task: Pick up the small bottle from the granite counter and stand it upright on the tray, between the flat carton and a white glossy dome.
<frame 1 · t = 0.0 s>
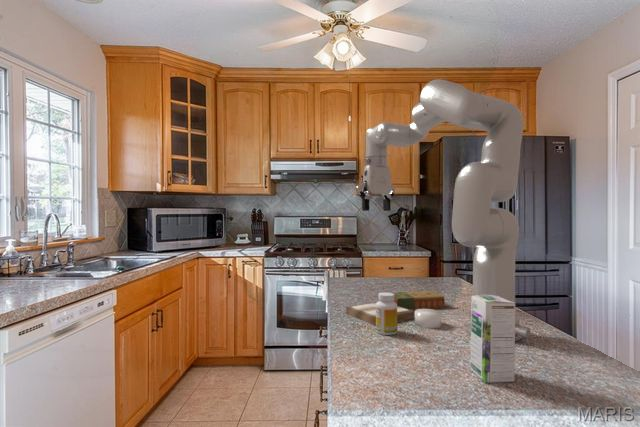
hand: (376, 210, 129), 31 cm above the countertop, tool pointing down, fingers open, 9 cm apart
carton: (415, 307, 118), on the countertop
supplement bottle: (386, 332, 92), on the countertop
white glossy dome: (427, 324, 98), on the countertop
tray: (379, 315, 106), on the countertop
syrup box: (491, 377, 67), on the countertop
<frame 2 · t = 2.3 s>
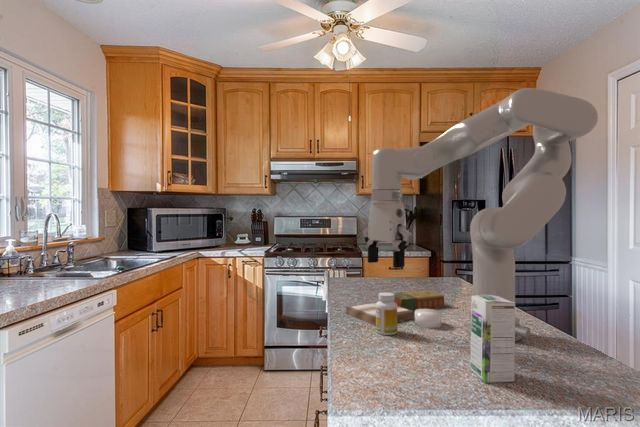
hand: (385, 264, 92), 17 cm above the countertop, tool pointing down, fingers open, 9 cm apart
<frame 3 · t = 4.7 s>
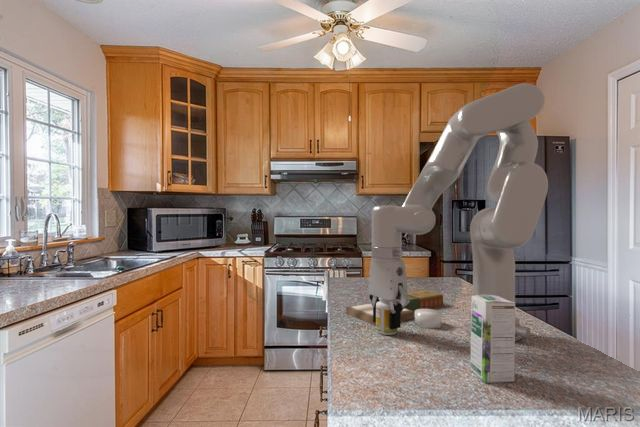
hand: (386, 324, 92), 2 cm above the countertop, tool pointing down, fingers closed on supplement bottle, 5 cm apart
supplement bottle: (386, 332, 92), on the countertop, touching gripper
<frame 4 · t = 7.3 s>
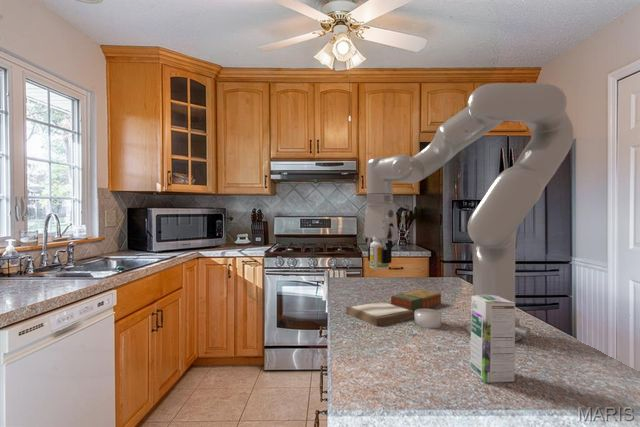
hand: (379, 261, 106), 16 cm above the countertop, tool pointing down, fingers closed on supplement bottle, 5 cm apart
supplement bottle: (379, 268, 106), point 14 cm above the countertop, touching gripper
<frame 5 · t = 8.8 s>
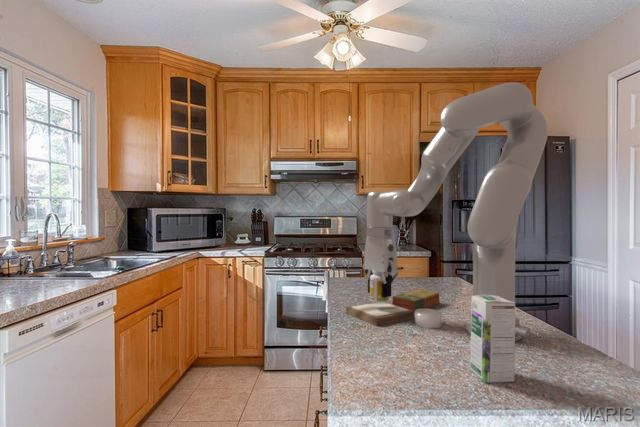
hand: (379, 294, 106), 6 cm above the countertop, tool pointing down, fingers closed on supplement bottle, 5 cm apart
supplement bottle: (378, 301, 106), point 4 cm above the countertop, touching gripper
when the fingers open (5 cm above the countertop, at t = 10.0 s): supplement bottle stays where it is, resting on tray.
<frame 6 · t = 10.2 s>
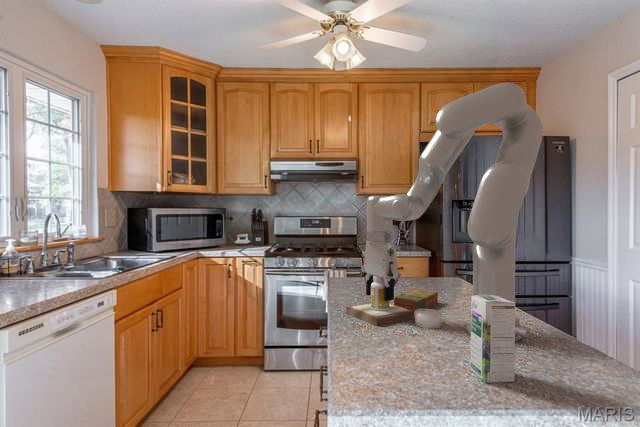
hand: (379, 297, 106), 6 cm above the countertop, tool pointing down, fingers open, 7 cm apart
supplement bottle: (380, 309, 106), point 2 cm above the countertop, touching tray
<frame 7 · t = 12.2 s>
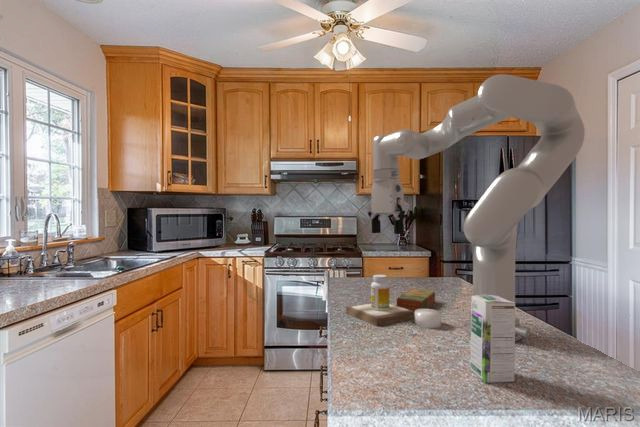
hand: (387, 233, 108), 24 cm above the countertop, tool pointing down, fingers open, 9 cm apart
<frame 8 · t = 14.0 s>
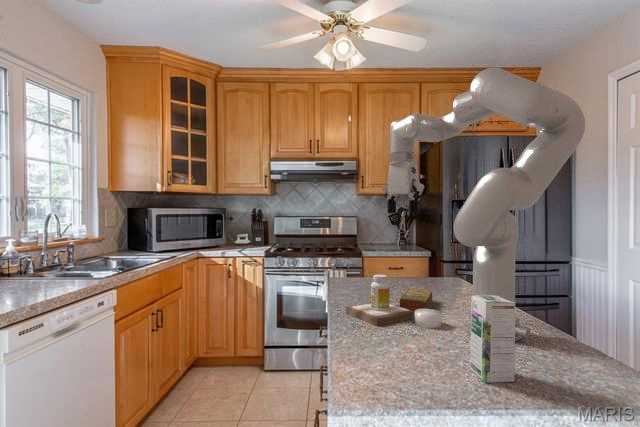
hand: (402, 213, 115), 30 cm above the countertop, tool pointing down, fingers open, 9 cm apart
at the end: supplement bottle inside the target area on the tray (0.2 cm from its centre), point 2.0 cm above the tray's base; supplement bottle tilted 0°; the gripper is holding nothing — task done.
